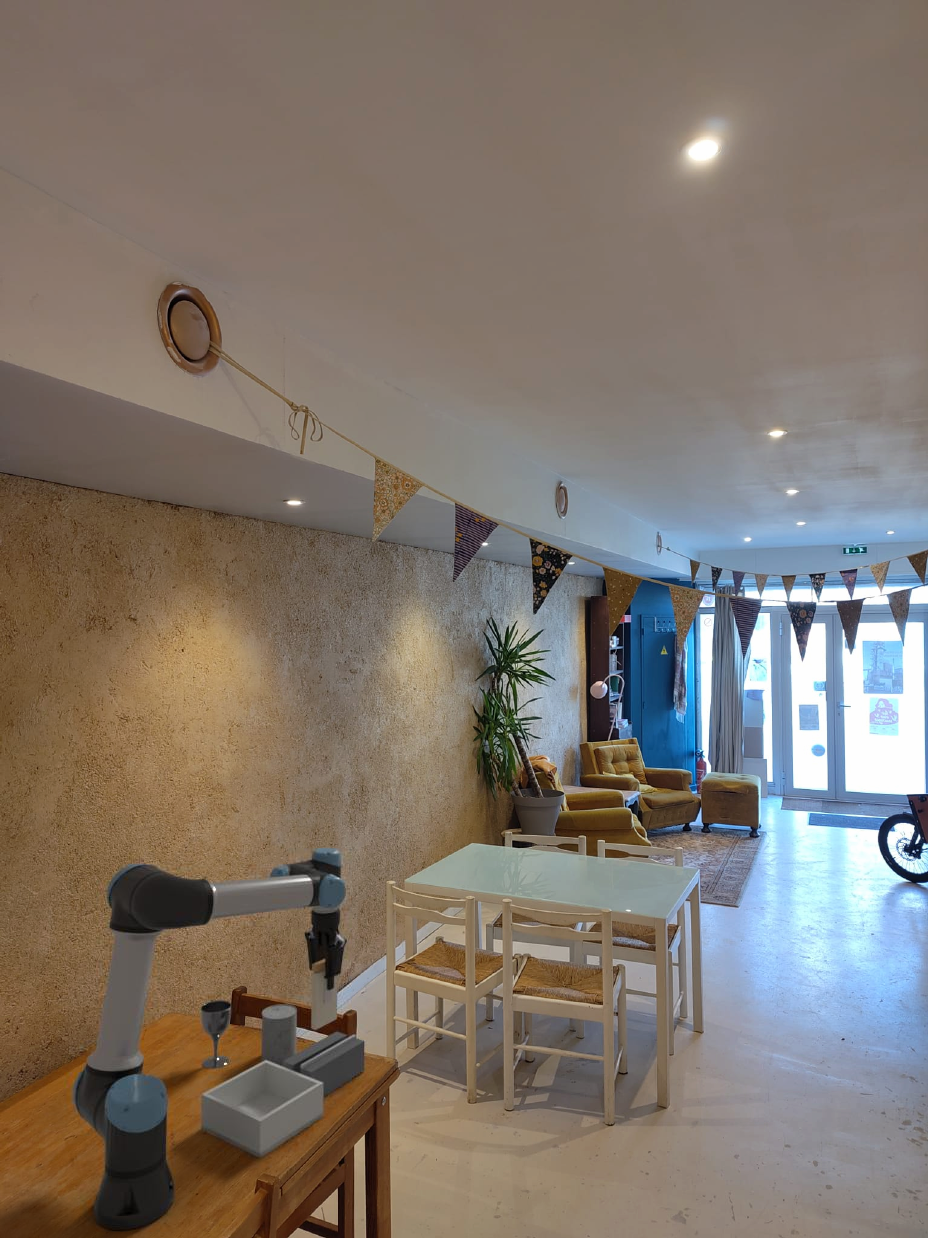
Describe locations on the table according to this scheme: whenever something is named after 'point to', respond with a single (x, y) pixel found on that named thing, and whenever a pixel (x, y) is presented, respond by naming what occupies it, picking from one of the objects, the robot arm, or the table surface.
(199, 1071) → the table surface
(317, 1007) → the cream flat board
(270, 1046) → the grey cylinder
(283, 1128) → the bin
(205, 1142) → the table surface
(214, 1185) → the table surface
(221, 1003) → the wine glass
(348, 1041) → the dispenser
